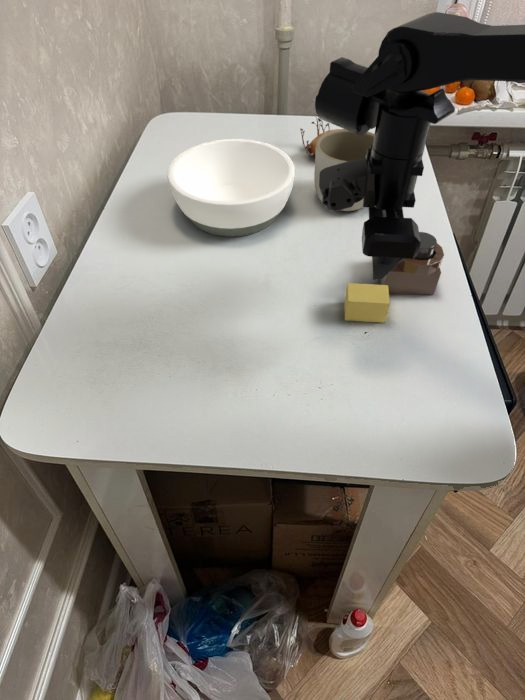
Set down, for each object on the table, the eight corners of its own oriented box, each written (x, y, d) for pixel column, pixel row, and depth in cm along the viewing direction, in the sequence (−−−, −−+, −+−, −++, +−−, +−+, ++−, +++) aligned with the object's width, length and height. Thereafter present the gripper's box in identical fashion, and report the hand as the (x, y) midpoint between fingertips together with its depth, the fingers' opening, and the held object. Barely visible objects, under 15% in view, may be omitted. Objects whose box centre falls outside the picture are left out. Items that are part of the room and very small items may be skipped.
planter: (356, 176, 102) (363, 123, 93) (389, 208, 94) (401, 153, 86) (301, 190, 98) (304, 136, 90) (331, 224, 91) (337, 169, 83)
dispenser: (436, 298, 78) (447, 265, 73) (383, 296, 78) (391, 264, 74) (426, 262, 84) (436, 229, 79) (377, 261, 84) (384, 228, 79)
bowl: (220, 167, 105) (216, 127, 98) (314, 198, 97) (317, 157, 90) (148, 221, 92) (140, 179, 86) (250, 262, 84) (249, 219, 78)
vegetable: (370, 122, 111) (380, 90, 101) (379, 167, 108) (390, 138, 98) (299, 131, 110) (302, 99, 100) (306, 176, 108) (310, 148, 98)
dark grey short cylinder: (435, 261, 75) (439, 248, 73) (408, 260, 75) (411, 248, 73) (430, 244, 77) (434, 232, 75) (404, 244, 77) (407, 231, 76)
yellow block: (383, 304, 77) (388, 284, 74) (385, 322, 75) (390, 303, 72) (344, 302, 78) (347, 282, 75) (344, 320, 75) (347, 301, 72)
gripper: (327, 108, 63) (317, 214, 75) (325, 189, 51) (314, 300, 63) (417, 111, 62) (392, 218, 74) (436, 194, 50) (404, 306, 62)
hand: (375, 256), depth 68 cm, fingers open, 9 cm apart
